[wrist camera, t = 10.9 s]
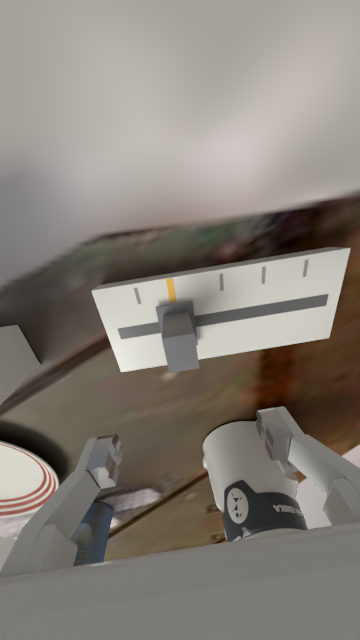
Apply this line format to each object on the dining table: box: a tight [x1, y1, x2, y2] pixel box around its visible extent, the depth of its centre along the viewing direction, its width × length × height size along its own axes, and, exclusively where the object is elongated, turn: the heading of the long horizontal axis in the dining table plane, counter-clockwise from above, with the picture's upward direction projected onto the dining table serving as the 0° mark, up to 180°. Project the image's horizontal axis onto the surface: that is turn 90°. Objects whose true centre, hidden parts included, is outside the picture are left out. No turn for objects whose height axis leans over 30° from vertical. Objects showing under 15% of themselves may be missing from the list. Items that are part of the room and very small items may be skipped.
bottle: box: [70, 502, 113, 567], centre depth 33 cm, size 10×10×30 cm
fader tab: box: [156, 301, 199, 373], centre depth 19 cm, size 4×6×6 cm
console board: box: [91, 247, 351, 372], centre depth 24 cm, size 30×12×3 cm, turn 99°
